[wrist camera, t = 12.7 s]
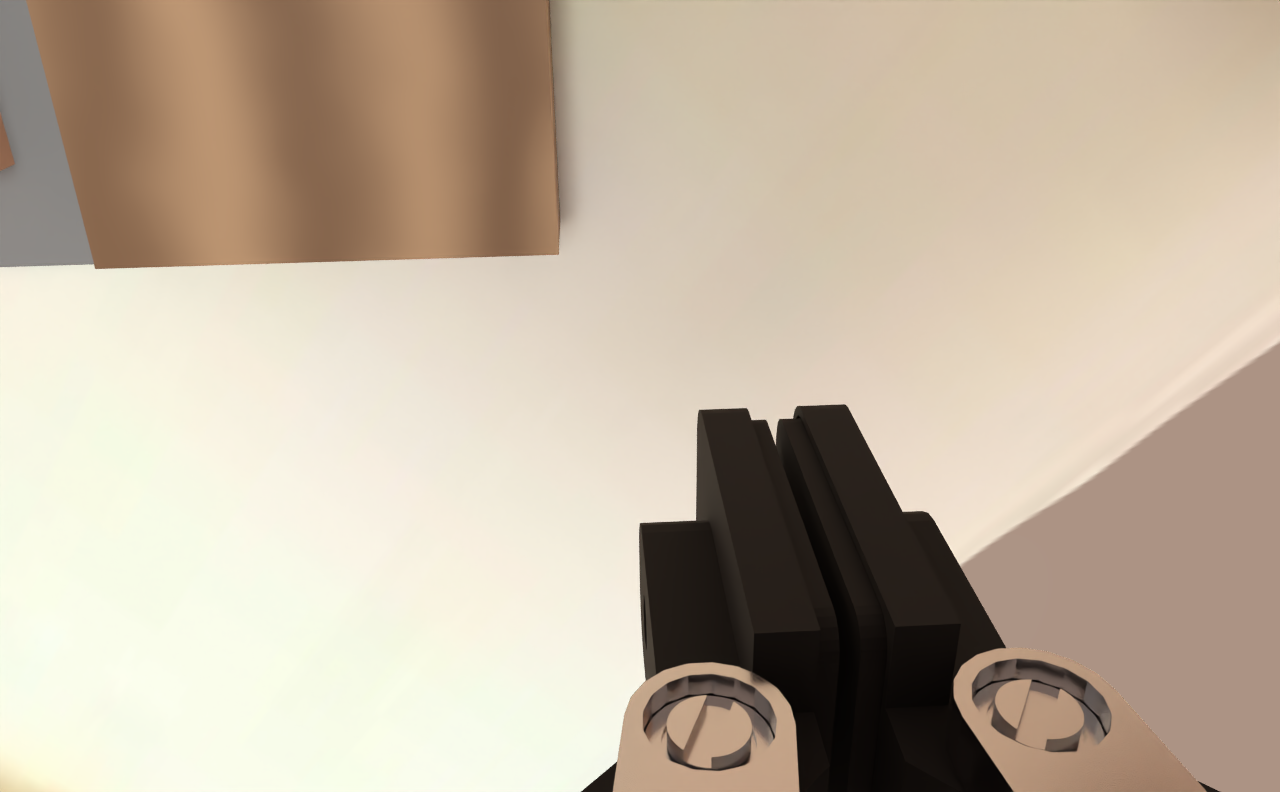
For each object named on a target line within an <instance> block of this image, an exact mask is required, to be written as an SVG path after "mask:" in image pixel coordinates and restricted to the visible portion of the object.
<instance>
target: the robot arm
mask: <svg viewBox="0 0 1280 792" xmlns="http://www.w3.org/2000/svg"><path fill="white" fill-rule="evenodd" d="M639 555H640V600H641V623H642V641H643V655H644V667H645V678H646V681H645V682H644V683H643V684H642V685H641V686H640V687H639V689H638V690H637V691H636V692H635V693H634V694H633V695H632V696H631V698H630V701H629V704H628V706H627V709H626V712H625V714H624V720H623V727H622V733H621V740H620V747H619V753H618V760H617V762H616V763H615V764H614V765H613V766H611V767H610V768H609V769H608V770H607V771H605V772H604V773H603V774H602V775H601V776H599V777H598V778H597V779H596V780H595V781H593V782H592V783H591V784H590V785H589V786H587V787H586V788H585V789H584V790H583V791H581V792H1219V791H1217V790H1215V789H1213V788H1211V787H1209V786H1207V785H1205V784H1203V783H1201V782H1199V781H1197V780H1196V779H1195V778H1194V777H1193V776H1192V775H1191V773H1190V772H1189V771H1188V770H1187V769H1186V768H1185V767H1184V766H1183V765H1182V763H1181V762H1180V761H1179V760H1178V759H1177V758H1176V757H1175V756H1174V754H1173V753H1172V752H1171V751H1170V750H1169V749H1168V748H1167V747H1166V745H1165V744H1164V743H1163V742H1162V741H1161V740H1160V739H1159V738H1158V737H1157V735H1156V734H1155V733H1154V732H1153V731H1152V730H1151V729H1150V728H1149V727H1148V725H1147V724H1146V723H1145V722H1144V721H1143V720H1142V719H1141V717H1140V716H1139V715H1138V714H1137V713H1136V712H1135V711H1134V710H1133V709H1132V707H1131V706H1130V705H1129V704H1128V703H1127V702H1126V701H1125V700H1124V698H1123V697H1122V696H1121V695H1120V694H1119V693H1118V692H1117V691H1116V690H1115V689H1114V688H1113V687H1112V686H1111V685H1110V684H1108V683H1107V682H1106V681H1105V680H1104V679H1103V678H1101V677H1100V676H1099V675H1098V674H1097V673H1095V672H1093V671H1091V670H1090V669H1088V668H1086V667H1084V666H1083V665H1081V664H1079V663H1077V662H1075V661H1074V660H1071V659H1068V658H1065V657H1062V656H1059V655H1056V654H1053V653H1050V652H1047V651H1040V650H1034V649H1027V648H1006V647H1005V645H1004V643H1003V642H1002V640H1001V638H1000V636H999V634H998V633H997V631H996V629H995V627H994V626H993V624H992V622H991V620H990V619H989V617H988V615H987V613H986V611H985V610H984V608H983V606H982V604H981V603H980V601H979V599H978V597H977V596H976V594H975V592H974V590H973V588H972V587H971V585H970V583H969V582H968V580H967V578H966V576H965V574H964V573H963V571H962V569H961V567H960V565H959V564H958V562H957V560H956V558H955V557H954V555H953V553H952V551H951V550H950V548H949V546H948V544H947V542H946V541H945V539H944V537H943V535H942V534H941V532H940V530H939V528H938V527H937V525H936V523H935V521H934V520H933V518H932V517H931V516H930V515H929V513H927V512H923V511H916V512H902V510H901V508H900V506H899V504H898V502H897V500H896V498H895V496H894V495H893V493H892V491H891V489H890V487H889V485H888V483H887V481H886V479H885V477H884V475H883V474H882V472H881V470H880V468H879V466H878V464H877V462H876V460H875V458H874V456H873V454H872V452H871V451H870V449H869V447H868V445H867V443H866V441H865V439H864V437H863V435H862V433H861V431H860V430H859V428H858V426H857V424H856V422H855V420H854V418H853V416H852V414H851V412H850V410H849V409H848V407H847V406H846V405H819V406H797V407H796V409H795V412H794V417H793V419H779V421H778V425H777V436H776V445H775V443H774V440H773V437H772V434H771V431H770V429H769V426H768V423H767V421H766V420H751V417H750V414H749V411H748V409H747V408H739V409H712V410H699V413H698V423H697V496H696V521H679V522H655V523H640V528H639Z"/></svg>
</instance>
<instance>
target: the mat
mask: <svg viewBox="0 0 1280 792" xmlns="http://www.w3.org/2000/svg"><path fill="white" fill-rule="evenodd" d="M0 113H1V117H2V120H3V124H4V127H5V131H6V134H7V138H8V141H9V145H10V148H11V152H12V155H13V159H14V162H15V164H14V165H12V166H10V167H8V168H6V169H4V170H2V171H0V267H17V266H50V265H83V264H94V262H93V258H92V254H91V250H90V246H89V242H88V238H87V235H86V231H85V227H84V223H83V219H82V215H81V211H80V207H79V204H78V200H77V196H76V192H75V188H74V184H73V180H72V176H71V173H70V169H69V165H68V161H67V157H66V153H65V149H64V145H63V142H62V138H61V134H60V130H59V126H58V122H57V118H56V114H55V110H54V107H53V103H52V99H51V95H50V91H49V87H48V83H47V79H46V76H45V72H44V68H43V64H42V60H41V56H40V52H39V48H38V45H37V41H36V37H35V33H34V29H33V25H32V21H31V17H30V14H29V10H28V6H27V2H26V0H0Z"/></svg>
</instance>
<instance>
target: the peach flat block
mask: <svg viewBox="0 0 1280 792" xmlns="http://www.w3.org/2000/svg"><path fill="white" fill-rule="evenodd" d="M14 164H15V162H14V159H13V155H12V152H11V148H10V145H9V141H8V138H7V134H6V131H5V127H4V124H3V120H2V117H1V113H0V171H2V170H4V169H6V168H8V167H10V166H12V165H14Z"/></svg>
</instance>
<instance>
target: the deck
mask: <svg viewBox="0 0 1280 792" xmlns="http://www.w3.org/2000/svg"><path fill="white" fill-rule="evenodd" d="M26 2H27V6H28V10H29V14H30V17H31V21H32V25H33V29H34V33H35V37H36V41H37V45H38V48H39V52H40V56H41V60H42V64H43V68H44V72H45V76H46V79H47V83H48V87H49V91H50V95H51V99H52V103H53V107H54V110H55V114H56V118H57V122H58V126H59V130H60V134H61V138H62V142H63V145H64V149H65V153H66V157H67V161H68V165H69V169H70V173H71V176H72V180H73V184H74V188H75V192H76V196H77V200H78V204H79V207H80V211H81V215H82V219H83V223H84V227H85V231H86V235H87V238H88V242H89V246H90V250H91V254H92V258H93V262H94V266H95V269H107V268H139V267H172V266H204V265H237V264H269V263H301V262H334V261H366V260H399V259H431V258H464V257H496V256H529V255H559V235H560V209H559V189H558V169H557V149H556V128H555V108H554V88H553V67H552V47H551V27H550V7H549V0H26Z"/></svg>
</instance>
